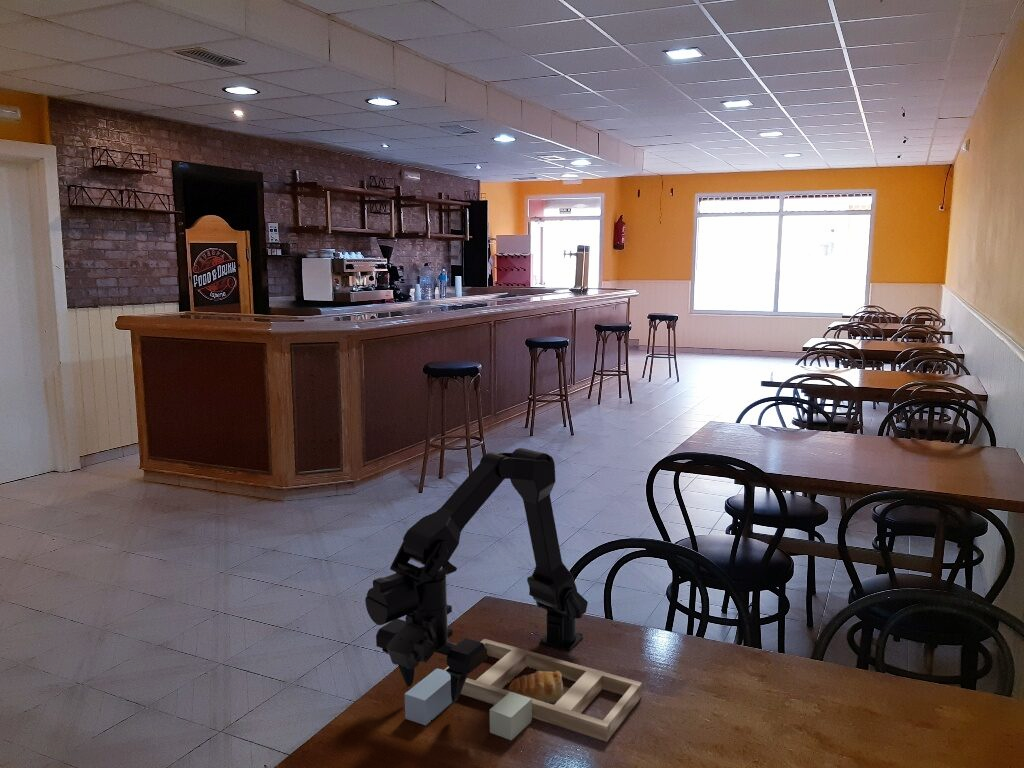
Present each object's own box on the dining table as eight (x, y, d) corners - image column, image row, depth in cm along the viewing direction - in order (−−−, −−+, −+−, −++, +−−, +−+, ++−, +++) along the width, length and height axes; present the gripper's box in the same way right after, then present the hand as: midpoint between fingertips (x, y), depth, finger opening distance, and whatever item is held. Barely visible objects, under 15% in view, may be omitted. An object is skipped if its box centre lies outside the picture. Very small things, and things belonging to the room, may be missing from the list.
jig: (484, 650, 147) (484, 638, 147) (641, 696, 131) (642, 682, 131) (439, 686, 135) (439, 673, 135) (606, 741, 119) (606, 726, 119)
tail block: (510, 714, 127) (510, 691, 126) (531, 721, 125) (531, 698, 124) (489, 733, 122) (489, 709, 121) (511, 741, 120) (511, 717, 119)
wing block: (437, 692, 134) (436, 668, 133) (457, 698, 132) (456, 674, 131) (405, 719, 126) (404, 693, 125) (425, 726, 124) (424, 700, 123)
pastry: (509, 706, 129) (508, 685, 129) (508, 685, 136) (507, 664, 135) (565, 704, 130) (565, 683, 129) (561, 683, 136) (561, 662, 136)
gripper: (351, 610, 124) (355, 701, 126) (447, 637, 114) (449, 735, 117) (395, 585, 133) (399, 670, 136) (488, 608, 124) (489, 699, 126)
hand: (431, 693), depth 128 cm, fingers open, 9 cm apart
